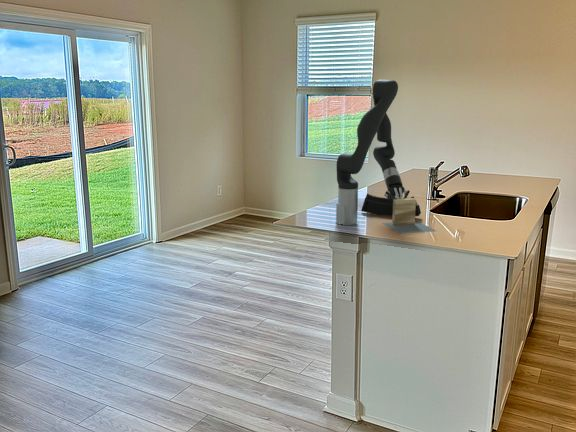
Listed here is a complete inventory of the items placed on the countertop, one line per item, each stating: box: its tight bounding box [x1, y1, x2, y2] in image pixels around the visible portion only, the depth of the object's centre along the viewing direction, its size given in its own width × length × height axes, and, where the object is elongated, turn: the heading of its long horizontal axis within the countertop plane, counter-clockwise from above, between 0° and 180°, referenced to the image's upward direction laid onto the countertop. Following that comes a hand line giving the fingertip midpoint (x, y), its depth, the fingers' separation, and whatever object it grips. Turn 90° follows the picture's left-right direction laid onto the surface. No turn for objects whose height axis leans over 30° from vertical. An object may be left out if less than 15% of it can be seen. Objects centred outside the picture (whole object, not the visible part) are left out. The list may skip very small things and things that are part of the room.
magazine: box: [361, 193, 422, 217], centre depth 259 cm, size 17×3×30 cm
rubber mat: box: [382, 220, 437, 234], centre depth 236 cm, size 20×18×1 cm
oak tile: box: [391, 197, 417, 225], centre depth 240 cm, size 3×10×12 cm, turn 102°
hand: (402, 208), depth 242 cm, fingers closed
